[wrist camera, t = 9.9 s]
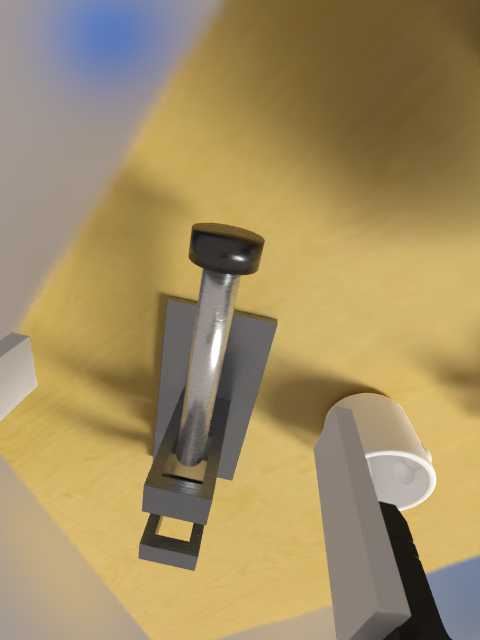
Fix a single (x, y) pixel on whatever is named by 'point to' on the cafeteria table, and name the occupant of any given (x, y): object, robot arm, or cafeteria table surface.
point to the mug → (391, 450)
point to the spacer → (188, 470)
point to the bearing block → (224, 432)
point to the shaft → (212, 324)
